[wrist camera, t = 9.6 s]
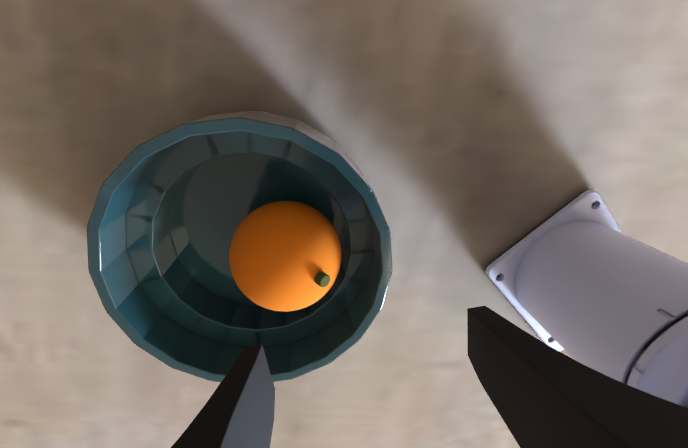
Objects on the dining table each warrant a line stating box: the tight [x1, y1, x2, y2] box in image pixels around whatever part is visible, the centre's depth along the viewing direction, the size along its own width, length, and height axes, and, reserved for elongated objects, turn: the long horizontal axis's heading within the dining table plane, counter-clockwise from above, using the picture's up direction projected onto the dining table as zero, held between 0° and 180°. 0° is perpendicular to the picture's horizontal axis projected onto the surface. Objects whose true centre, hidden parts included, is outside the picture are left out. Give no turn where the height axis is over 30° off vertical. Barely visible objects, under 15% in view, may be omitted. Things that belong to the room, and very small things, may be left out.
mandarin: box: [229, 201, 341, 312], centre depth 17 cm, size 5×5×6 cm
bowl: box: [87, 110, 392, 382], centre depth 18 cm, size 13×13×5 cm
